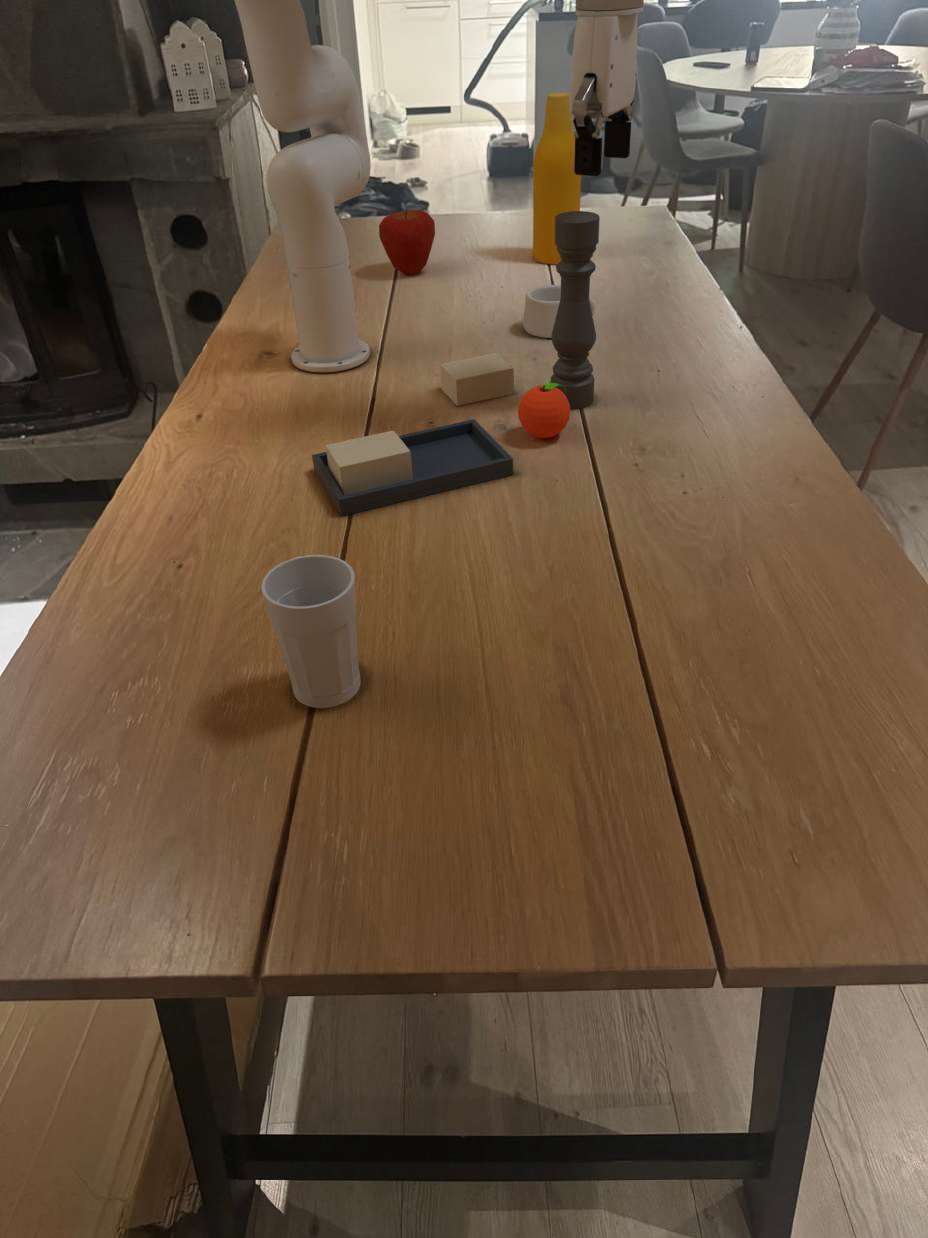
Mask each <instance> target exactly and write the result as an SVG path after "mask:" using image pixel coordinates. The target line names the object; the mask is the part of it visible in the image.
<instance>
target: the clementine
mask: <svg viewBox="0 0 928 1238" xmlns="http://www.w3.org/2000/svg"><path fill="white" fill-rule="evenodd" d="M559 385H560V384H557V383H551V382H548V383H544V384H538V385H535V386H533V387H531V388H530V389H528V390H527V391H526V392H525V393H524V395H523V396H522V397H521V399H520V401H519V404H518V409H517V414H518V421H519V422H520V424H521V427H522V428H523V429H524V431H526V432H527V434H529V435H531V436H533V437H535V438H539V439H549V438H553V437H554V436H556V435H558V434H559V433H562V431H563V430H564V429H565V428H566V426H567V424H568V422H569V420H570V416H571V409H570V404H569V402H568V400H567V397H566V396H565V394H564V393H563V392H562V391H561V390H559V389H558V388H556V386H559ZM561 386H562V385H561ZM562 387H563V388H564V390H565V392H566V388H565V387H564V386H562ZM566 394H567V392H566Z"/></svg>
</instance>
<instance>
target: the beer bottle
mask: <svg viewBox="0 0 928 1238" xmlns="http://www.w3.org/2000/svg"><path fill="white" fill-rule="evenodd" d="M569 102H570V92H551V93H548V94H546V102H545V109H544V110H545V112H544V119H543V120H544V122H543V129H542V133H541V137H540V138H539V142H538V143H537V146H536V148H535V152H534V157H533V162H532V163H533V165H532V177H533V179H532V180H533V181H532V185H533V186H532V192H533V193H532V194H533V195H532V197H533V200H532V203H533V204H532V228H533V229H532V231H533V232H532V256H533V259H534V260H535V261H536V262H538V263H540V264H545V265H557V264H558V263H559V262H560V261H561V258H560V254H559V253H558V251H557V245H555V216H557V215H558V214H561V213H564V212H570V211H581V188H582V175H576V174H575V172H574V161H575V137H574V129H573V117H572V116H573V115H572V114H571V112H570V110H569Z"/></svg>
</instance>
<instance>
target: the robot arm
mask: <svg viewBox="0 0 928 1238" xmlns="http://www.w3.org/2000/svg"><path fill="white" fill-rule="evenodd" d="M233 1H234V4H235V7H236V11H237V13H238V18H239V21H240V24H241V29H242V35H243V39H244V45H245V48H246V54H247V57H248V62H249V67H250V71H251V75H252V79H253V83H254V88H255V92H256V96H257V101H258V105H259V108H260V111H261V114H262V115H263V118H264V119H265V121H266V122H267V123H268V125H269V126H270V127H271V128H272V129H274V130H276V131H278V132H282V133H294V132H299V131H303V130H306V129H309V132H310V137H308V138H305V139H304V138H303V139H302V140H299V141H296V142H293V143H290V144H288V145H286V146H285V147H283V148H282V149H280V150H279V151H278V152H277V153H275V155H273V157H272V159H271V160H270V162H269V165H268V167H267V172H266V186H267V191H268V195H269V198H270V201H271V205H272V207H273V209H274V212H275V215H276V219H277V222H278V226H279V230H280V235H281V239H282V246H283V250H284V257H285V263H286V268H287V275H288V281H289V287H290V294H291V300H292V307H293V313H294V319H295V326H296V333H297V339H298V344H299V345H298V346H296V348H294V350H292V352H291V361H292V364H293V366H295V367H296V368H297V369H300V370H302V371H305V372H311V373H322V374H323V373H337V372H342V371H346V370H351V369H353V368H356V367H358V366H360V365H362V364H364V363H365V362H366V361H367V360H368V359H369V358H370V356H371V349H370V346H369V345H368V343H367V342H365V341H363V340H361V339H360V338H359V329H358V321H357V313H356V304H355V294H354V286H353V277H352V268H351V260H350V253H349V245H348V240H347V236H346V233H345V230H344V228H343V225H342V224H341V222H340V220H339V217H338V216H337V215H338V214H337V212H336V209H335V208H336V207H337V206H338V205H341V204H343V203H345V202H347V201H350V200H351V199H354V198H355V197H357V196H359V195H360V194H362V192H363V191H364V190H365V188H366V187H367V185H368V183H369V181H370V176H371V155H370V147H369V143H368V138H367V131H366V125H365V120H364V114H363V108H362V103H361V102H362V101H361V96H360V92H359V86H358V83H357V80H356V77H355V76H356V75H355V74H354V72H353V69H352V67H351V66H350V63H349V62H348V61H347V59H346V58H345V57H344V55H343V54H341V53H340V52H339V51H338V50H337V49H335V48H333V47H330V46H328V45H324V44H323V45H322V44H315V45H314V44H313V45H311V40H310V37H309V32H308V26H307V19H306V14H305V11H304V9H303V5H302V3H301V1H300V0H233ZM644 3H645V0H575V11H574V12H575V13H574V14H575V16H577V18H576V24H575V30H574V36H573V37H574V38H573V44H572V56H571V68H570V69H571V71H570V84H569V85H570V87H569V94H570V102H569V110H570V112H571V116H573V119H572V124H573V127H574V129H573V133H574V137H575V161H574V172H575V174H576V175H581V176H586V177H587V176H589V177H599V176H600V175H601V174H602V159H603V156H604V157H605V158H614V159H627V158H629V157H630V154H631V139H632V138H631V136H632V120H633V113H634V112H633V103H634V102H635V101H634V100H635V93H636V86H637V85H636V84H637V67H638V15H639V14H641V13H644V5H645V4H644ZM605 118H608V120H606V121H605ZM593 120H594V122H593ZM604 121H605V122H604ZM603 125H604V146H603V137H600V135H601V132H602V129H603ZM603 147H604V148H603Z"/></svg>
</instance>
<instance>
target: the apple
mask: <svg viewBox="0 0 928 1238" xmlns="http://www.w3.org/2000/svg"><path fill="white" fill-rule="evenodd" d="M378 237H379V240H380V242H381V244H382V248H383V249H384V251H385V254H386V256H387V258H388V259H389V261H390V263H391V265H392V267H393V268H394V269H395V270H396V271H398V272H400V273H401V274H402V275H405V276H416V275H419V274H420V273H421V272H422V271H423V269H424V268H425V267H426V266H427V264H428V261H429V257H430V254H431V251H432V248H433V244H434V240H435V237H436V224H435V219H433V217H432V216H431V215H430V214H429V213H428V212H426V211H424V210H420V209H411V210H409V209H408V208H407V207H406V208H405V210H403V211H399V212H398V211H397V212H394V213H390V214H388V215H386V216H384V218H382V220H381V222H380V223H379V224H378Z"/></svg>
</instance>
